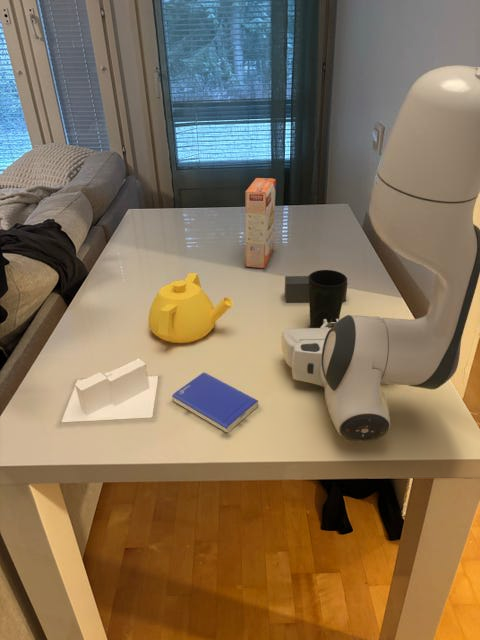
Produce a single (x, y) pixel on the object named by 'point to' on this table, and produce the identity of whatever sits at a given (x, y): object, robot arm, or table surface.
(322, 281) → the cup
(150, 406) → the napkin holder
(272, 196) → the cracker box
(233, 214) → the table surface
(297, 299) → the stop block
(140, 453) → the table surface
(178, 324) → the teapot
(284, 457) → the table surface
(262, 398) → the table surface
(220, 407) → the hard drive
